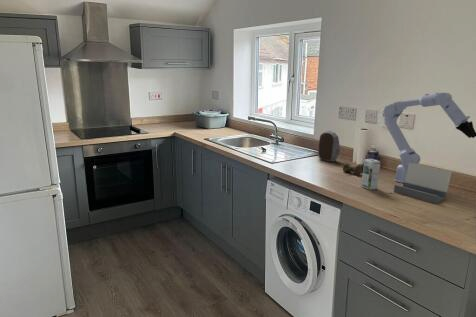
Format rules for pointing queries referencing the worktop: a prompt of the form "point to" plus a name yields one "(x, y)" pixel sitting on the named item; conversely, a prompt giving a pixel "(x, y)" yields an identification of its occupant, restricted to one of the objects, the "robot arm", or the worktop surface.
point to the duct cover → (428, 176)
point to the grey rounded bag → (328, 146)
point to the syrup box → (370, 174)
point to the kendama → (353, 168)
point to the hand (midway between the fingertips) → (473, 136)
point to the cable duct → (420, 192)
